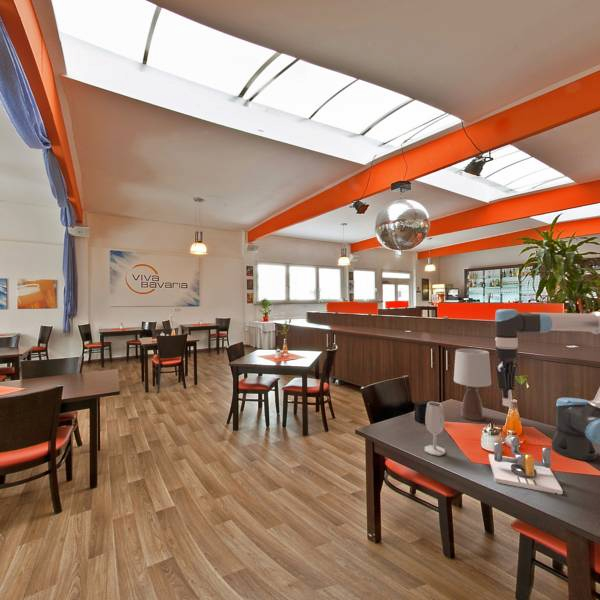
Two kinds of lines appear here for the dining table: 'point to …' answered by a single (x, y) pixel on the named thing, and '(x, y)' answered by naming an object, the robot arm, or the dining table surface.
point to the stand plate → (540, 482)
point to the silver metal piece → (522, 459)
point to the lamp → (472, 379)
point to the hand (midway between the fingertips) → (507, 405)
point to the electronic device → (420, 411)
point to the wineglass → (434, 426)
